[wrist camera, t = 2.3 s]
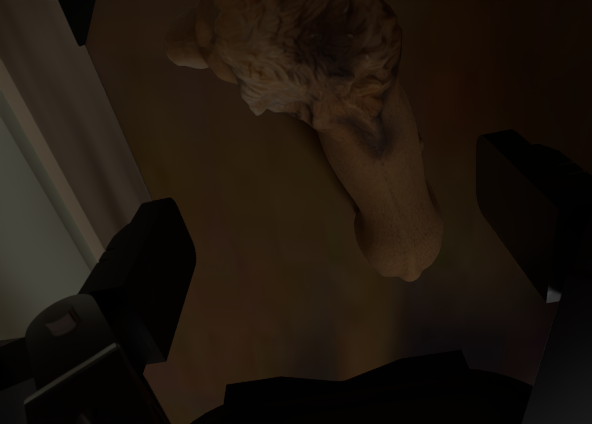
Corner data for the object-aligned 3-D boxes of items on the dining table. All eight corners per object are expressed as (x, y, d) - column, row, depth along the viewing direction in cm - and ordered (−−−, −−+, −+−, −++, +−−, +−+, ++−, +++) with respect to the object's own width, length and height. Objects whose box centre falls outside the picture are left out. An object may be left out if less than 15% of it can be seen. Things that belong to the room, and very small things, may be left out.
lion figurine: (193, -8, 16) (92, 31, 8) (312, -109, 14) (326, -177, 6) (381, 252, 22) (423, 412, 14) (478, 203, 20) (583, 354, 13)
